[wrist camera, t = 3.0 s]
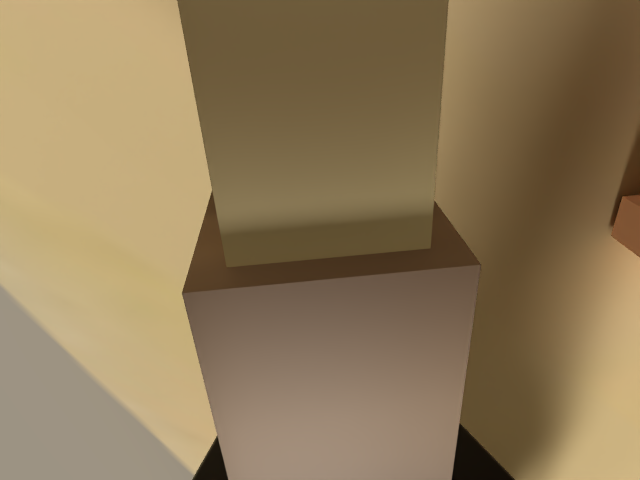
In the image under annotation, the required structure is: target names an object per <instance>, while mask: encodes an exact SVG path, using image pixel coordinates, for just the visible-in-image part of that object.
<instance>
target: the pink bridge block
mask: <svg viewBox="0 0 640 480" xmlns="http://www.w3.org/2000/svg"><path fill="white" fill-rule="evenodd" d="M611 236H612V237H613V238H615V239H616V240H617V241H619V242H620V243H621V244H623V245H624V246H625V247H627V248H628V249H629V250H631V251H632V252H633V253H635V254H636V255H637V256H639V257H640V195H632V196H622V200H621V203H620V207H619V210H618V213H617V217H616V220H615V224H614V227H613V231H612V234H611Z"/></svg>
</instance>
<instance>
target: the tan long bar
mask: <svg viewBox="0 0 640 480" xmlns="http://www.w3.org/2000/svg"><path fill="white" fill-rule="evenodd" d="M177 1H178V7H179V12H180V18H181V23H182V28H183V34H184V39H185V45H186V50H187V56H188V61H189V66H190V72H191V77H192V83H193V88H194V93H195V99H196V104H197V110H198V115H199V121H200V126H201V131H202V137H203V142H204V148H205V153H206V159H207V164H208V169H209V175H210V180H211V186H212V193H211V196H210V200H209V203H208V206H207V210H206V213H205V217H204V220H203V223H202V227H201V230H200V234H199V237H198V241H197V244H196V247H195V251H194V254H193V258H192V261H191V264H190V268H189V271H188V275H187V278H186V281H185V285H184V288H183V292H182V295H183V299H184V303H185V307H186V311H187V315H188V319H189V323H190V327H191V331H192V335H193V339H194V343H195V347H196V351H197V355H198V359H199V363H200V367H201V371H202V375H203V379H204V383H205V387H206V391H207V395H208V400H209V404H210V408H211V412H212V416H213V420H214V424H215V428H216V432H217V436H218V440H219V444H220V448H221V452H222V456H223V460H224V464H225V468H226V472H227V476H228V480H452V473H453V465H454V458H455V451H456V444H457V436H458V429H459V422H460V415H461V407H462V400H463V393H464V385H465V378H466V371H467V364H468V356H469V349H470V342H471V334H472V327H473V320H474V313H475V305H476V298H477V291H478V283H479V276H480V269H481V264H480V262H479V261H478V260H477V258H476V257H475V256H474V254H473V253H472V251H471V250H470V249H469V247H468V246H467V245H466V243H465V242H464V241H463V239H462V238H461V236H460V235H459V234H458V232H457V231H456V230H455V228H454V227H453V225H452V224H451V223H450V221H449V220H448V219H447V217H446V216H445V214H444V213H443V212H442V210H441V209H440V208H439V206H438V205H437V203H436V202H435V201H434V195H435V181H436V167H437V153H438V139H439V125H440V111H441V98H442V84H443V70H444V56H445V42H446V28H447V14H448V1H449V0H177Z"/></svg>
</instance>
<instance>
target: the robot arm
mask: <svg viewBox="0 0 640 480" xmlns="http://www.w3.org/2000/svg"><path fill="white" fill-rule="evenodd" d="M192 480H228V476H227V472H226V468H225V464H224V460H223V456H222V452H221V448H220V444H219V440H218V436H217V437H216V439H215V441H214V442H213V444H212V446H211V448H210V449H209V451H208V453H207V455H206V456H205V458H204V460H203V462H202V463H201V465H200V467H199V469H198V470H197V472H196V474H195V476H194V477H193V479H192ZM452 480H515V479H514V478H513V477H512V476H511V475H510V474H509V473H508V472H507V471H506V470H505V469H504V468H503V467H502V466H501V465H500V464H499V463H498V462H497V461H496V460H495V459H494V458H493V457H492V456H491V455H490V454H489V453H488V452H487V451H486V450H485V448H484V447H483V446H482V445H481V444H480V443H479V442H478V441H477V440H476V439H475V438H474V437H473V436H472V435H471V434H470V433H469V432H468V431H467V430H466V429H465V428H464V427H463V426H462V425H461V424H460V423H459V429H458V436H457V444H456V451H455V458H454V465H453V473H452Z"/></svg>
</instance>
